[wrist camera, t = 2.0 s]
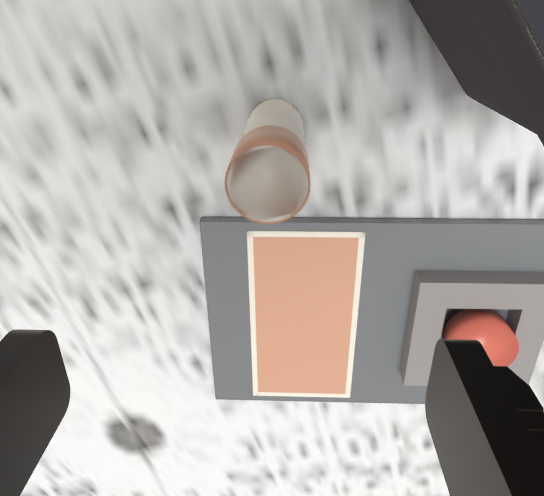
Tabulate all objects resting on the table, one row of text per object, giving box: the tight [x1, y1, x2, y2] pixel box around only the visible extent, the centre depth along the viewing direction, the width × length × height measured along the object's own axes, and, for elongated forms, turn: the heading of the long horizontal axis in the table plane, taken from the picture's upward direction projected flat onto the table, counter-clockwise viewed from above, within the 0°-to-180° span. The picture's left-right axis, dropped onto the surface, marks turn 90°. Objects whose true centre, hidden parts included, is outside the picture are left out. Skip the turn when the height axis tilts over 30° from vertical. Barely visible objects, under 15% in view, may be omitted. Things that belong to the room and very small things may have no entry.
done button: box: [442, 309, 519, 367], centre depth 32 cm, size 4×4×2 cm
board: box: [200, 217, 544, 404], centre depth 34 cm, size 24×16×2 cm, turn 91°
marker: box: [225, 99, 310, 224], centre depth 24 cm, size 4×4×10 cm
